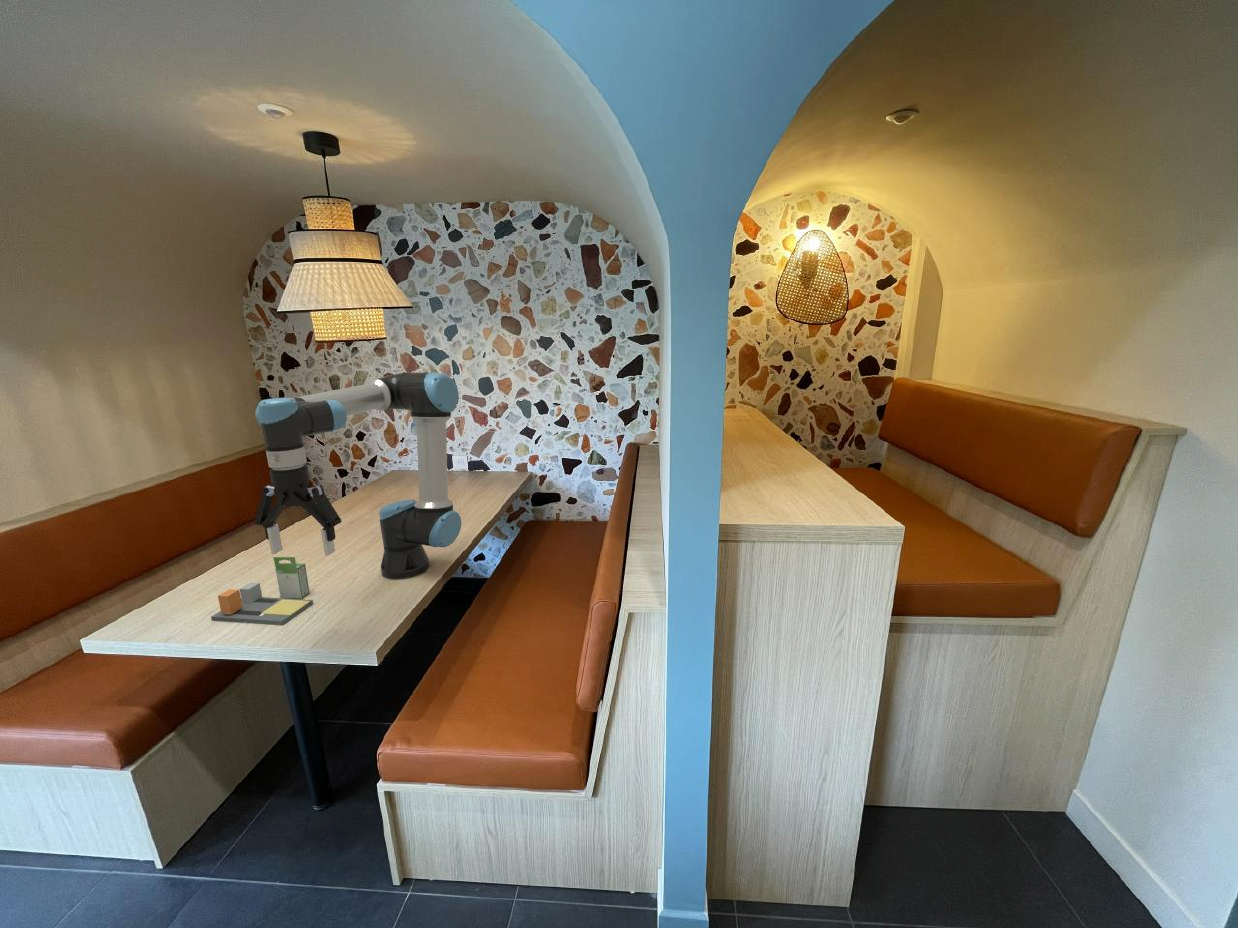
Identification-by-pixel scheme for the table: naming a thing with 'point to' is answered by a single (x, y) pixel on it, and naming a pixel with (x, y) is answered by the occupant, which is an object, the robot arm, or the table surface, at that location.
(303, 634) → the table surface
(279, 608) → the pad
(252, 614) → the panel
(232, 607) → the lever
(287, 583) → the ink box
